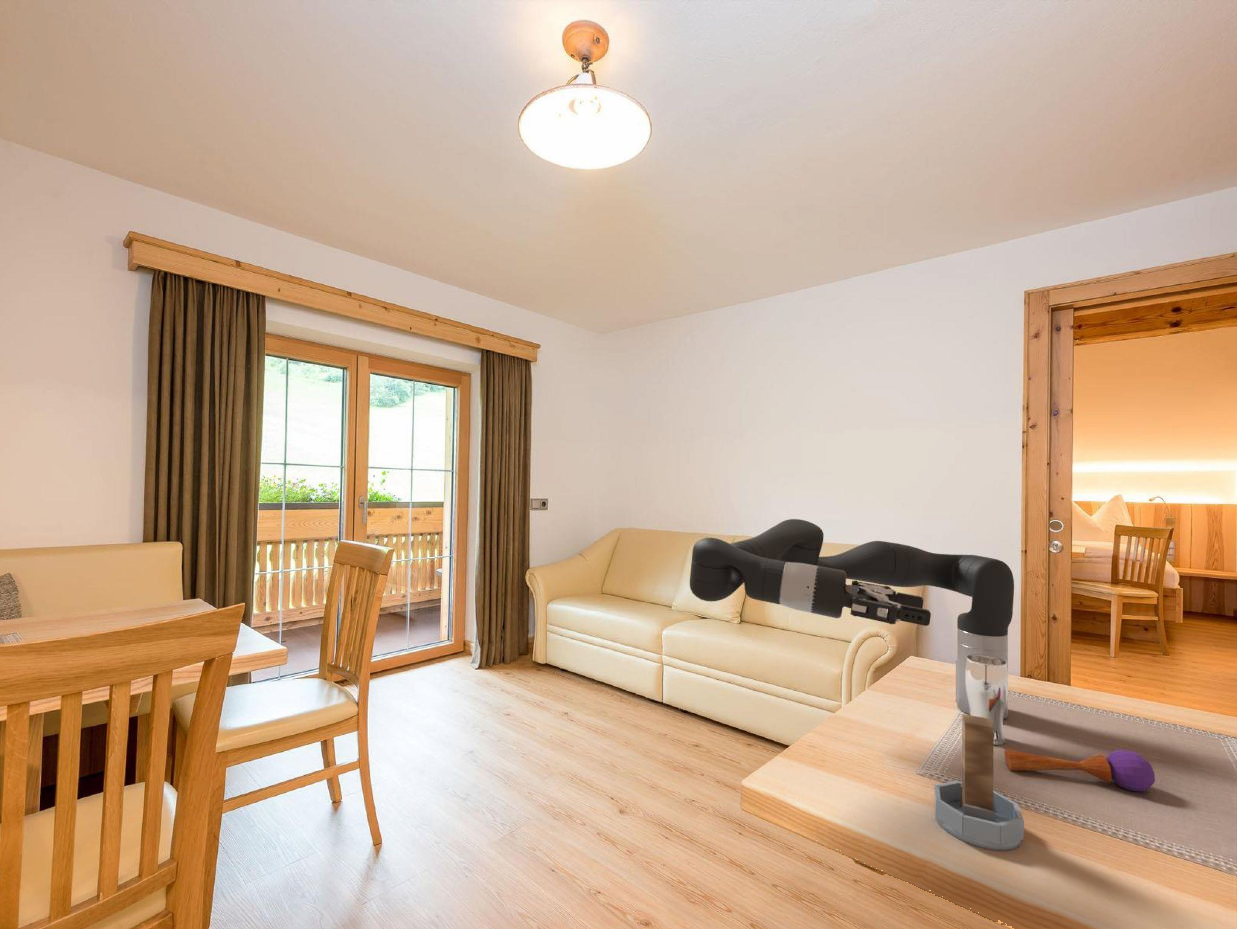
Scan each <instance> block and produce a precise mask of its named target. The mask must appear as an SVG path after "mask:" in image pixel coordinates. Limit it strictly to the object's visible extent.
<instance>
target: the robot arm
mask: <svg viewBox="0 0 1237 929" xmlns="http://www.w3.org/2000/svg"><path fill="white" fill-rule="evenodd" d="M824 535H825V534H824V531H823V530H822V528H821V527H820V526H818V525H816V524H815V523H813V522H810V521H807V520H804V519H797V518H790V519H785V520H783V521H781V522H778V523H777V524H776V525H774V526H772V527H771V528H769V529H767V530H766V531H764V532H762V533H760V534H758V535H756V536H754V537H750V538H748V539H743V540H740V541H735V542H732V543H729V542H727V541H725V540H723V539H720V538H715V537H704V538H701V539H699V540H697V541H696V542H695V543H694V545H693V548H692V552H691V553H692V555H691V564H690V573H689V574H690V575H689V588H690V591H691V593H692V594H693V595H694V596H695V597H696V598H698V599H699V600H701V601H705V602H711V603H712V602H719V601H721V600H722V601H723V600H725V599H727V598H728V597H730V596H732V594H733V593H735V592H736V591H737V590H738V589H739V588H740V587H741V586H742V585H743V586H744V591H745V592H744V593H745V595H746V597H748V598H750V599H753V600H755V601H760V602H765V603H770V604H775V605H780V606H783V607H786V608H789V609H791V610H796V611H801V612H805V613H810V614H815V615H820V616H825V617H827V618H828V617H829V618H834V619H840V618H841V617H842V614H843V608H845V607H846V608H847V609H850V615H851V616H853V617H858V618H862V619H869V620H872V621H877V622H882V623H886V624H889V625H896V623H899V622H905V623H910V624H914V625H920V626H925V627H927V626H929V625H930V624H931V623H930V622H931V616H932V614H931V611H930V610H929V609H926V608H923V606H924V598H923V597H922V596H920V595H914V594H909V593H903V592H897V590H896V589H893V588H892V587H896V588H897V587H899V588H915V587H922V586H924V587H925V586H929V587H936V588H940V589H944V590H948V591H952V592H956V593H958V594H961V595H964V596H968V597H971V606H970V607H971V608H970V610H969V611H968V612H963V613H959V614H958V615H957V620H956V622H957V624H956V626H957V627H956V628H957V632H956V634H957V636H956V637H957V640H956V641H957V642H956V643H957V644H956V645H957V649H956V650H957V652H956V653H957V654H956V655H957V656H956V660H955V702H956V703H957V704H956V706H957V708H958V709H959V710H960V711H962V712H964V713H965V714H967V715H970V708H969V703H968V698H967V692H966V685H965V671H966V661H967V656H968V655H986V656H991V657H996V658H999V659H1002V660H1004V661H1005V662H1006V663H1007V673H1008V674H1009V649H1008V648H1009V636H1008V634H1009V627H1010V624H1011V622H1012V619H1013V616H1014V614H1013V613H1014V599H1015V597H1014V595H1015V579H1014V574H1013V571H1012V570H1011V567H1009V564H1007V563H1006V562H1004V561H1003V560H1000V559H997V558H993V557H986V556H983V555H982V556H981V555H975V554H949V553H947V554H946V553H934V552H929V551H927V550H923V549H921V548H919V547H914V546H912V545H907V544H903V543H896V542H890V541H882V540H873V541H868V542H865V543H863V544H860V545H858V546H855V547H853V548H850V549H848V550H846V551H843V552H841V553H839V554H836V555H835V554H834V555H829V556H828V555H827V556H820V555H821V551H822V547H823V542H824V537H825V536H824ZM847 580H852V581H851V584H847ZM1008 700H1009V694H1008V695H1007V701H1006V706H1005V710H1004V715H1003V720H1004V719H1006V718H1008V717H1009V716H1008V715H1009V713H1008V712H1009V706H1008V705H1009V704H1008V702H1009V701H1008Z"/></svg>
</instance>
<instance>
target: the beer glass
mask: <svg viewBox="0 0 1237 929" xmlns="http://www.w3.org/2000/svg"><path fill="white" fill-rule="evenodd" d="M965 685H966V692H967V698H968V703H969V708H970V714H969V715H971V716H977V717H983V718H989V719H990V721H991V723H992V725H993V728H994V746H1000V745H1001V746H1002V745H1004V744H1005V743H1006V737H1005V732H1004V726H1003V724H1004V719H1003V715H1004V710H1005V706H1006V701H1007V695H1008V696H1009V672H1008V673H1007V663H1006V662H1005V661H1004V660H1002V659H999V658H996V657H991V656H986V655H968V656H967V661H966V671H965Z"/></svg>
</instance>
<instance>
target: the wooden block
mask: <svg viewBox="0 0 1237 929" xmlns="http://www.w3.org/2000/svg"><path fill="white" fill-rule="evenodd" d="M961 716H962V718H961V720H962V721H961V722H962V723H961V724H962V725H961V729H962V730H961V731H962V734H961V736H962V737H961V753H962V754H961V782H962V812H963V814H964V804H968V805H972V806H976V807H980V808H985V809H989V810H993V790H994V754H995V752H994V748H995V747H994V746H995V745H994V728H993V725H992V723H991V721H990V719H989V718H983V717H977V716H971V715H970V714H966V713H962V714H961Z"/></svg>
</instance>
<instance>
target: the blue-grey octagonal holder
mask: <svg viewBox="0 0 1237 929" xmlns="http://www.w3.org/2000/svg"><path fill="white" fill-rule="evenodd" d="M933 787H934V788H933V791H934V793H933V794H934V816H935V818H934V819H935V821H936V822H937V823H938V825H939V826H940V828H942V829H943V830H945V832H947V833H948V834H950V835H951V836H953V837H955V838H956V839H957V840H960V841H962V842H964V843H967V844H969V845H972V846H975V847H978V848H981V849H986V850H991V851H1004V852H1005V851H1012V850H1016V849H1018V848H1019V847H1020V846H1021V844H1022V842H1023V841H1022V840H1024V839H1025V819H1024V817H1023V814H1022V812H1021V809H1020V805H1019V804H1018V803H1017V802H1015V801H1013V800H1011V799H1010V798H1008V797H1006V796H1005V795H1003V794H1001V793H999V792H997V791H995V790H994V789H993V810H989V809H985V808H980V807H976V806H972V805H968V804H964V814H963V812H962V781H958V780H953V781H947V782H942V783H939V784H934V786H933Z"/></svg>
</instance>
